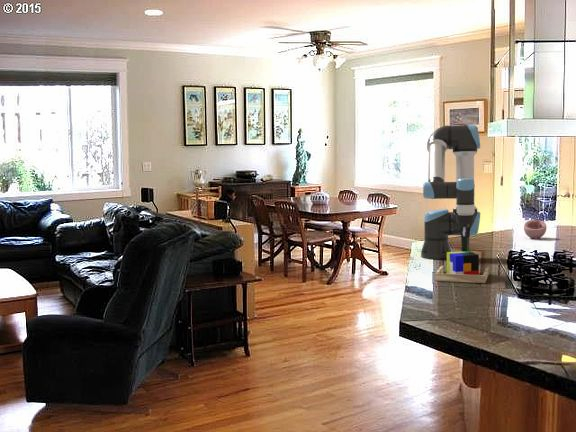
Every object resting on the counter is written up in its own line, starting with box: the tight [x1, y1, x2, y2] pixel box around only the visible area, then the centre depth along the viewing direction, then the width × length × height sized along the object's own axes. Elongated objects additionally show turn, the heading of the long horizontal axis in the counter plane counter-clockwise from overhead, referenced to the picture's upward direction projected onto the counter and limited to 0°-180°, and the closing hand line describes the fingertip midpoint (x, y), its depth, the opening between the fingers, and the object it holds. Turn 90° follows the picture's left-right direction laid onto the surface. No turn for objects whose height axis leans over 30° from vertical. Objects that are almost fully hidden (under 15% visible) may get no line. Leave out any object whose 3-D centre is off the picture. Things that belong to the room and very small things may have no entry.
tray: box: [434, 265, 490, 284], centre depth 277 cm, size 18×20×3 cm
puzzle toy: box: [446, 250, 480, 275], centre depth 279 cm, size 10×10×10 cm
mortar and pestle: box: [523, 218, 547, 240], centre depth 375 cm, size 12×12×12 cm
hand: (465, 267), depth 288 cm, fingers closed
